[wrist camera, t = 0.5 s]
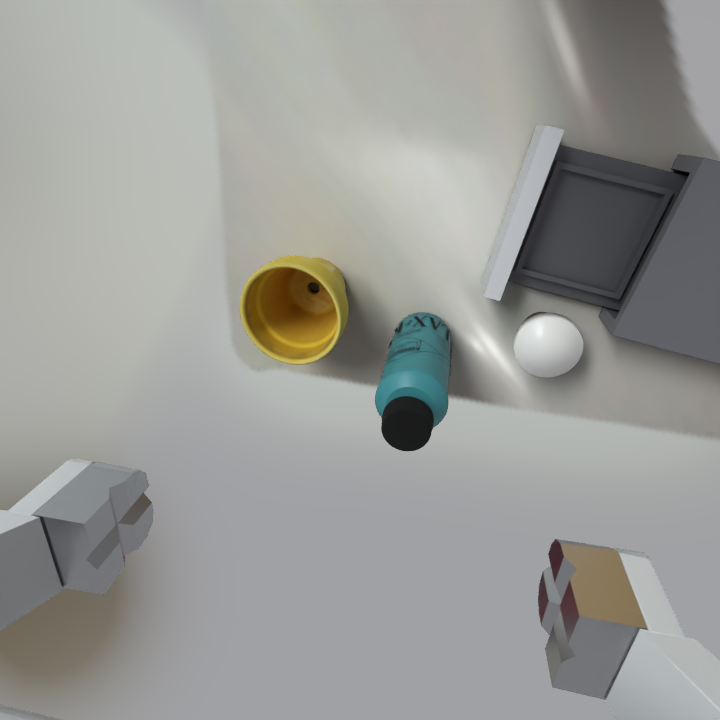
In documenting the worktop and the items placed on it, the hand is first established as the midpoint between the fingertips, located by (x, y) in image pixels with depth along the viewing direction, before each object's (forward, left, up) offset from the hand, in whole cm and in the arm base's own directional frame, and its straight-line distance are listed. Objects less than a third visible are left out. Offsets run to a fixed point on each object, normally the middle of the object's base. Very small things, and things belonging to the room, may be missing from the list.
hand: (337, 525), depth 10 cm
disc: (+10, +15, -40) cm, 44 cm away
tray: (-1, +16, -43) cm, 46 cm away
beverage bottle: (+14, +3, -44) cm, 46 cm away
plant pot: (+12, -10, -44) cm, 47 cm away
